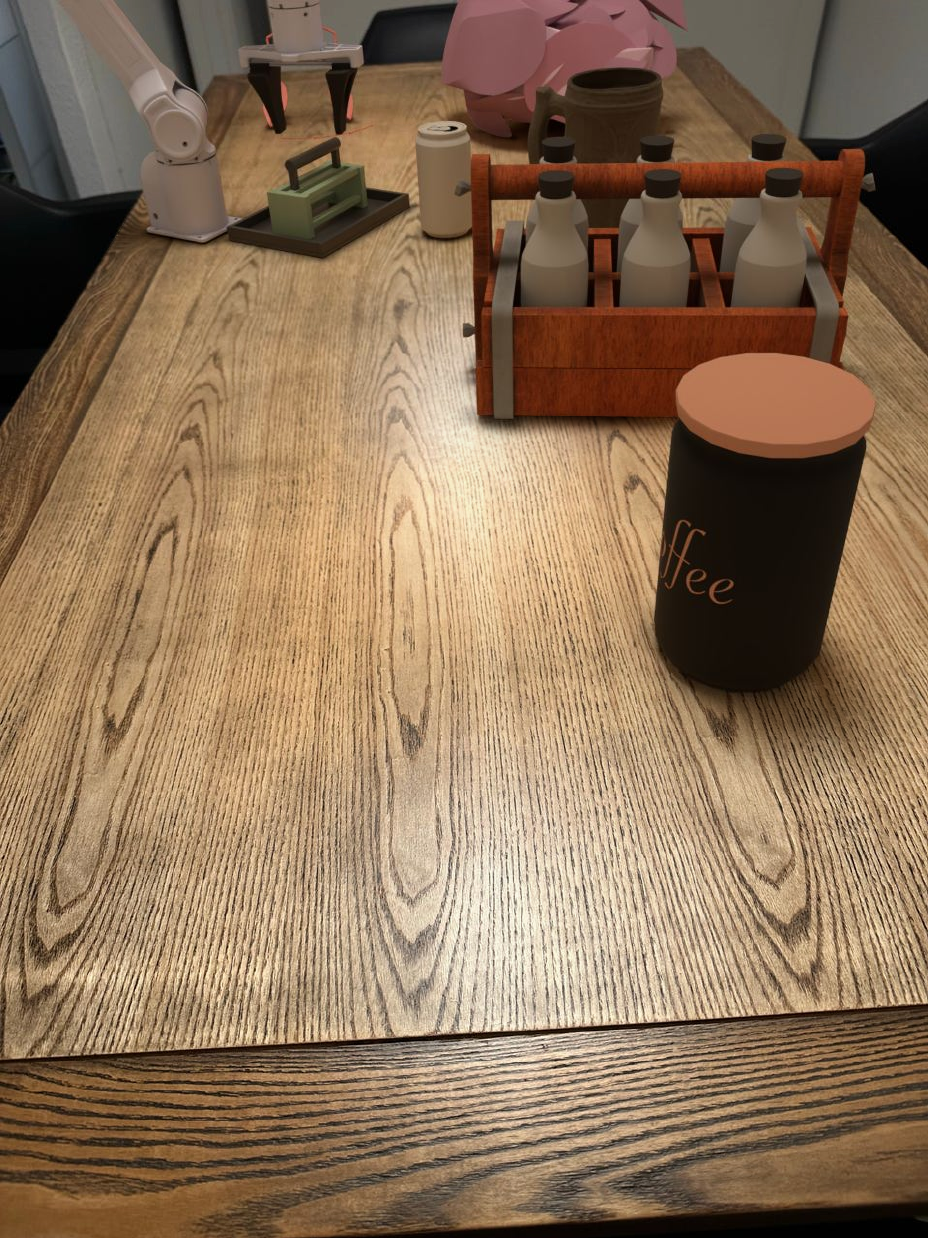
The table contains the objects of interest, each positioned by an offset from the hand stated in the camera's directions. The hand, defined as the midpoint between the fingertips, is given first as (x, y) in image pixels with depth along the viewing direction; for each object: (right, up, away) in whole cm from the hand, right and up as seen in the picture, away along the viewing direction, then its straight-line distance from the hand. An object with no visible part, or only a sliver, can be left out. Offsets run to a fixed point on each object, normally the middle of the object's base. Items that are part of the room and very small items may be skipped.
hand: (310, 131), depth 129 cm
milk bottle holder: (+36, -36, -29) cm, 58 cm away
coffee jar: (+36, -61, -59) cm, 92 cm away
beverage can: (+17, -12, +2) cm, 20 cm away
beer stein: (+32, -19, -8) cm, 38 cm away
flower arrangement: (+34, +16, +34) cm, 50 cm away
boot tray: (+1, -9, +5) cm, 11 cm away
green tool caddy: (+1, -9, +5) cm, 10 cm away
